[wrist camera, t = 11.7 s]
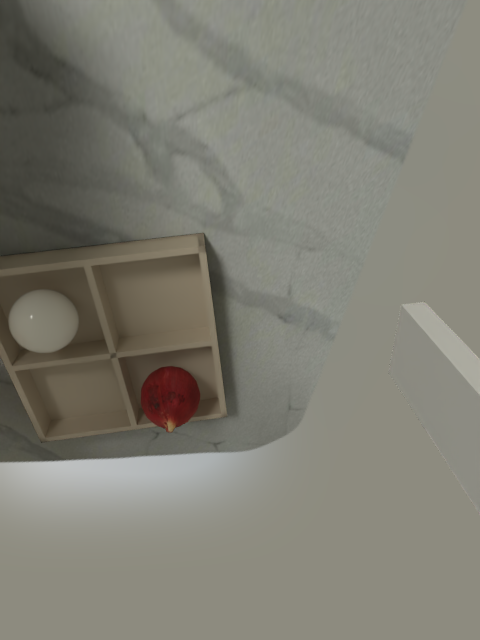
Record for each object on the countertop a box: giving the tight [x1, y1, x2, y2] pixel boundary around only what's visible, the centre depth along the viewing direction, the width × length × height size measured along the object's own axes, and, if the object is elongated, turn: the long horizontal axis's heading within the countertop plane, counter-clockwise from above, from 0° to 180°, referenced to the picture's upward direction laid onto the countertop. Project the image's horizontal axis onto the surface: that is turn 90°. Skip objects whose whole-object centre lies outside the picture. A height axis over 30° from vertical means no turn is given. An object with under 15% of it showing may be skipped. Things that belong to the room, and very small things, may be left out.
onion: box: [141, 366, 200, 432], centre depth 42 cm, size 6×6×8 cm
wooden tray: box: [0, 233, 227, 443], centre depth 42 cm, size 20×20×3 cm
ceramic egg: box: [8, 289, 79, 353], centre depth 38 cm, size 6×6×6 cm
